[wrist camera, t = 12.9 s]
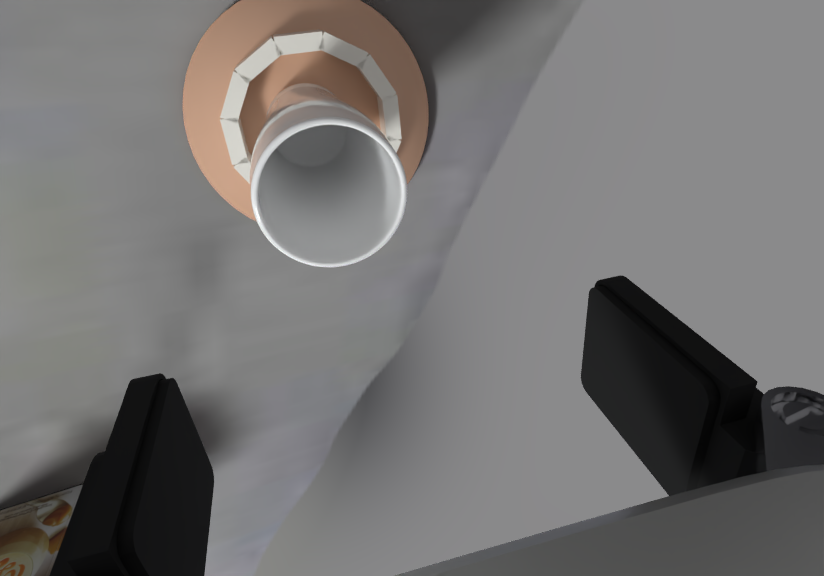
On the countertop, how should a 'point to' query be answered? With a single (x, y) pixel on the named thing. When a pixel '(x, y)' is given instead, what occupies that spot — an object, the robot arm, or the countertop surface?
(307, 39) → the tan saucer
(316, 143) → the drinking glass
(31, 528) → the coffee box
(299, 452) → the countertop surface
